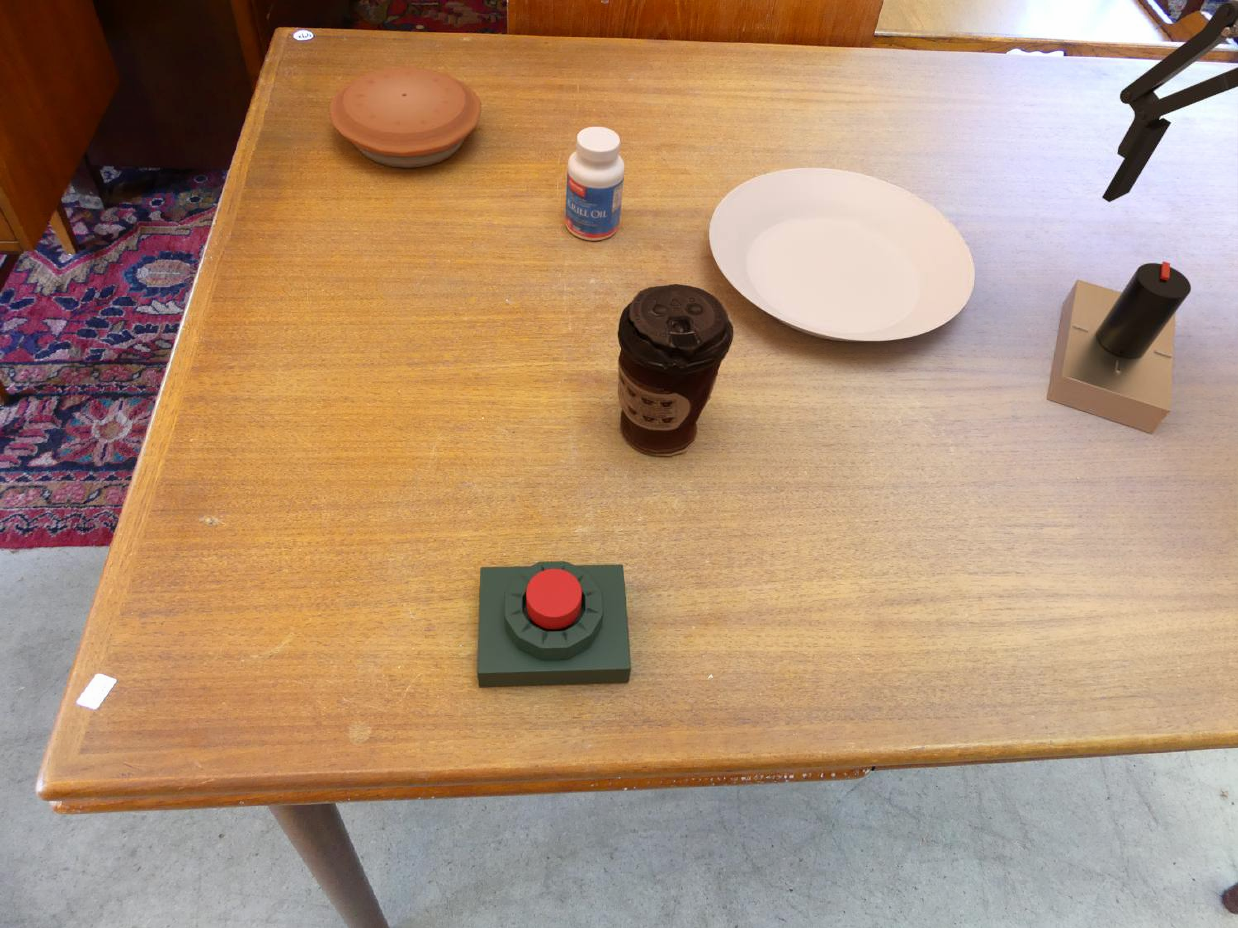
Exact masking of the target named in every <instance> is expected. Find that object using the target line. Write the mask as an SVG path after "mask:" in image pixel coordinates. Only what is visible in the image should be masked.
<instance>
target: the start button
mask: <svg viewBox="0 0 1238 928" xmlns="http://www.w3.org/2000/svg"><path fill="white" fill-rule="evenodd" d="M581 599H582V589H581V586H580V583H579V582H578V580H577V579H576V578H575V577H574V576H573V575H572V574H570V573H569V572H567V571H564V570H561V569H548V570H544V571H542V572H540V573H538V574H536V575H535V576H534V577H533V578H532V579H531V580H530V582H529V584H528V586H527V590H526V606H527V612H528V615H529V616H530V618H531V619H532V621H533V622H534V623H536V624H537V625H539V626H540V627H543V628H546V629H554V630H555V629H561V628H564V627H567V626H569V625H570V624H572V623H573V622H574V621H575V620H576V618H577V617H578V615H579V613H580V610H581Z"/></svg>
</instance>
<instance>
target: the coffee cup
mask: <svg viewBox="0 0 1238 928" xmlns="http://www.w3.org/2000/svg"><path fill="white" fill-rule="evenodd" d="M617 340H618V345H619V348H620V351H619V355H618V361H617V366H618V367H617V368H618V369H617V371H618V375H617V376H618V383H617V394H618V401H619V404H620V407H621V412H620V424H619V427H620V432H621V434H622V436H623V438H624V440H626V441H627V442H628V444H630V445H631V447H632V448H634V449H636V450H637V451H640V452H642V453H645V454H649V455H652V456H661V457H673V456H675V455H679V454H684V453H685V452H687V451H688V450H689V449H690V447H691V446H692V445H693V444H694V443H695V442H696V438H697V436H698V425H697V422H698V420H699V418H700V416H701V414H702V412H703V410H704V408H705V407H706V406H707V403H708V402H709V401H710V400H711V398H712V397H711V396H712V393H713V390H714V388H715V384H716V382H717V377H718V375H719V369H720V367H721V364H722V361H723V360H724V359H725V358H726V356H727V354H728V353H729V351H730V348H731V345H732V343H733V340H734V326H733V323H732V321H731V320H730V318H729V313H728V312H727V310H726V307H724V305H723V303H722V302H721V301H720V300H719V299H718V298H717V297H716V296H715V295H713V294H712V293H711V292H708V291H706V290H705V289H702V288H701V287H696V286H691V285H686V284H681V283H673V284H667V285H657V286H648V287H647V288H644V289H642V290H640V291H639V292H637V294H636V295H635V296H634V297H633V299H632V300H631V301H630V302H629V303H628V304H627V305H626V306H625V308H624V309H623V310H622V312H621V315H620V317H619V321H618V328H617Z"/></svg>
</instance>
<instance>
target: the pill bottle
mask: <svg viewBox="0 0 1238 928" xmlns="http://www.w3.org/2000/svg"><path fill="white" fill-rule="evenodd" d="M620 150H621V138H620V136H619V134H618V133H617V132H616V131H614V130H613V129H610V128H607V127H604V126H589V127H585V128H583V129H582V130H580V131H579V132H578V133H577V135H576V144H575V151H573V152H572V154H571V155H569V158H568V161H567V169H566V170H567V171H566V188H565V213H564V223H565V226H566V228H567V230H568V231H569V233H571V234H572V235H574V236H575V237H577V238H579V239H582V240H586V241H594V242H595V241H603V240H605V239H608V238H610V237H612V236H613V235H614V234H615V233H616V232H617V230H618V228H619V225H620V219H621V210H622V209H621V208H622V200H623V190H624V181H625V170H626V167H625V166H626V165H625V161H624V159H623V158H622V156H621V155H620V152H621V151H620Z"/></svg>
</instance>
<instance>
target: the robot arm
mask: <svg viewBox="0 0 1238 928" xmlns="http://www.w3.org/2000/svg"><path fill="white" fill-rule="evenodd" d="M1237 37H1238V0H1228V1H1226V2H1224V3H1222V4H1220V5H1219V6H1218V8H1217V9H1216V10H1215V12H1214V13H1213V15H1212V16H1211V17H1210V19H1209V20H1208V21H1207V23H1206V24H1205V26H1204V27H1203V28H1202V30H1200V31H1198V32H1197V33H1196V34H1194V36H1192V37H1191V38H1190V39H1188V40H1187V41H1185V42H1184V43H1183V44H1182V45H1180V46H1178V47H1177V48H1176V49H1175V50H1173V51H1172V52H1171V53H1169V55H1167V56H1166V57H1164V58H1163V59H1162V60H1161V61H1159V62H1158V63H1156V64H1155V65H1153V66H1152V67H1151V68H1150V69H1148V70H1146V72H1144V73H1143V74H1142V75H1140V76H1138V77H1137V78H1136V79H1135V80H1134V81H1133V82H1131V83H1129V85H1127V86H1125V87H1124V88H1123V89H1122V90H1121V91H1120V92H1119V93H1120V94H1119V100H1120V102H1121V103H1122V104H1125V105H1129V107H1130V108H1131V109H1132V111H1133V113H1134V114H1133V115H1134V117H1133V120H1132V122H1131V124H1130V126H1129V127H1128V129H1127V131H1126V133H1125V134H1124V137H1123V138H1122V139H1121V142H1120V143H1119V144H1118V147H1117V153H1116V154H1117V155H1118V156H1120V157H1121V158H1123V160H1122V162H1121V164H1120V165H1119V167H1118V168H1117V170H1116V172H1115V174H1114V175H1113V177H1112V179H1111V181H1110V182H1109V184H1108V186H1107V188H1106V190H1105V191H1104V193H1103V195H1102V196H1101V199H1102V200H1105V201H1106V202H1108V203H1112V202H1114V201H1115V200H1117V199H1120V198H1122V197H1123V196H1125V195H1127V194H1129V193H1130V192H1131V190H1132V188H1133V187H1134V185H1135V183H1136V182H1137V181H1138V179H1139V177H1140V175H1141V173H1142V172H1143V170H1144V169H1145V167H1146V165H1147V164H1148V162H1149V160H1150V159H1151V157H1152V155H1153V153H1154V152H1155V150H1156V149H1157V147H1158V145H1159V144H1160V142H1161V141H1162V139H1163V137H1164V135H1165V134H1166V132H1167V130H1168V129H1169V128H1170V126H1171V124H1172V122H1171V121H1169V120H1168V119H1166V118H1165V117H1163V116H1166V115H1168V114H1170V113H1174V112H1176V111H1179V110H1181V109H1183V108H1186V107H1189V106H1191V105H1194V104H1196V103H1199V102H1201V101H1204V100H1206V99H1207V100H1208V99H1209V98H1212V97H1214V96H1216V95H1220V94H1222V93H1224V92H1228V91H1230V90H1233V89H1235V88H1237V87H1238V66H1237V67H1234V68H1232V69H1230V70H1227V71H1225V72H1223V73H1220V74H1218V75H1217V74H1216V75H1215V76H1213V77H1210V78H1208V79H1205V80H1202V81H1200V82H1198V83H1195V84H1193V85H1190V86H1188V87H1186V88H1183V89H1181V90H1178V91H1176V92H1173V93H1171V94H1168V95H1166V96H1163V97H1160V98H1159V96H1158V95H1157V94H1156V92H1155V91H1157V90H1158V89H1159V88H1161V87H1162V86H1164V85H1166V83H1168V82H1170V81H1171V80H1172V79H1173V78H1175V77H1176V76H1178V75H1179V74H1180V73H1182V72H1183V71H1185V70H1186V69H1188V68H1189V67H1190V66H1191V65H1193V64H1195V62H1197V61H1198V60H1200V59H1201V58H1203V57H1204V56H1205V55H1207V54H1208V53H1209V52H1211V51H1212V50H1213V49H1215V48H1216V47H1218V46H1219V45H1220V44H1221V43H1223V42H1224V41H1226V40H1227V39H1229V40H1230V39H1234V38H1237Z"/></svg>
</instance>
